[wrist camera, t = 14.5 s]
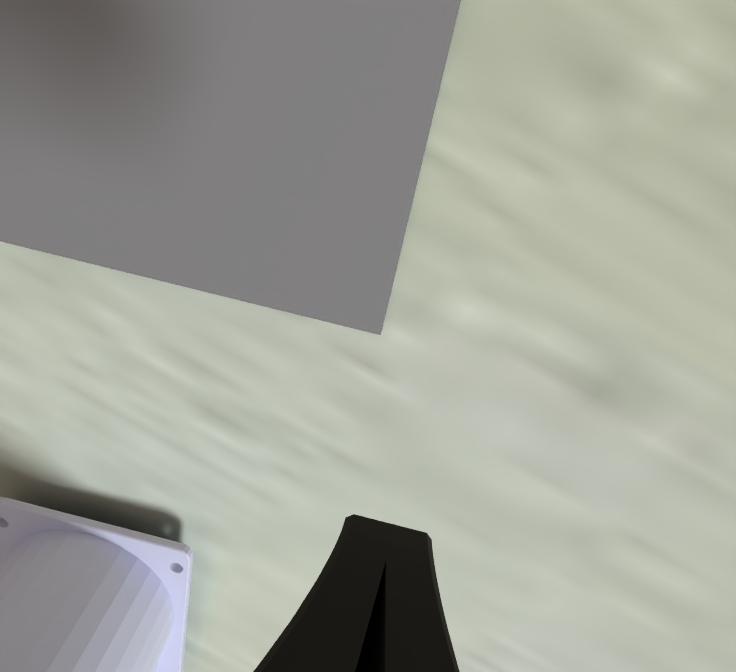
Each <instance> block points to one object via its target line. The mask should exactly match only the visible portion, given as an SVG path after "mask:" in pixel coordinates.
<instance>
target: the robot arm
mask: <svg viewBox="0 0 736 672" xmlns="http://www.w3.org/2000/svg"><path fill="white" fill-rule="evenodd" d="M192 564H193V551H192V550H191V549H190V547H188V546H187V545H186V544H183V543H180V542H176V541H172V540H168V539H165V538H161V537H157V536H153V535H149V534H145V533H141V532H138V531H134V530H130V529H126V528H122V527H118V526H114V525H111V524H107V523H103V522H99V521H95V520H91V519H87V518H83V517H80V516H76V515H72V514H68V513H64V512H60V511H56V510H53V509H49V508H45V507H41V506H37V505H33V504H29V503H26V502H22V501H18V500H14V499H10V498H6V497H0V672H182V671H183V660H184V649H185V639H186V628H187V617H188V607H189V596H190V585H191V575H192ZM254 672H459V669H458V665H457V661H456V658H455V654H454V650H453V647H452V643H451V639H450V636H449V632H448V628H447V624H446V620H445V616H444V612H443V607H442V602H441V598H440V593H439V588H438V583H437V578H436V572H435V566H434V559H433V551H432V540H431V538H430V537H429V535H428V534H427V533H425V532H421V531H417V530H413V529H409V528H405V527H401V526H398V525H394V524H390V523H386V522H382V521H378V520H374V519H370V518H366V517H362V516H358V515H354V514H353V515H351V516H349V517H346V519H345V522H344V525H343V528H342V531H341V533H340V536H339V538H338V541H337V543H336V545H335V547H334V549H333V551H332V553H331V555H330V557H329V559H328V561H327V563H326V565H325V566H324V568H323V570H322V572H321V574H320V575H319V577H318V579H317V581H316V582H315V584H314V585H313V587H312V588H311V590H310V592H309V593H308V595H307V596H306V598H305V600H304V601H303V603H302V604H301V606H300V607H299V609H298V611H297V612H296V614H295V615H294V617H293V618H292V620H291V621H290V623H289V624H288V625H287V627H286V628H285V630H284V631H283V632H282V634H281V635H280V636H279V638H278V639H277V641H276V642H275V643H274V645H273V646H272V647H271V649H270V650H269V652H268V653H267V654H266V656H265V657H264V658H263V660H262V661H261V663H260V664H259V665H258V666H257V668H256V669H255V670H254Z"/></svg>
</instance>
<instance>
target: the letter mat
mask: <svg viewBox="0 0 736 672" xmlns="http://www.w3.org/2000/svg"><path fill="white" fill-rule="evenodd" d="M460 1H461V0H0V241H2V242H6V243H10V244H14V245H18V246H22V247H26V248H30V249H34V250H38V251H42V252H46V253H50V254H54V255H58V256H63V257H67V258H71V259H75V260H79V261H83V262H87V263H91V264H95V265H99V266H103V267H107V268H111V269H115V270H119V271H123V272H127V273H131V274H135V275H139V276H144V277H148V278H152V279H156V280H160V281H164V282H168V283H172V284H176V285H180V286H184V287H188V288H192V289H196V290H200V291H204V292H208V293H212V294H216V295H220V296H225V297H229V298H233V299H237V300H241V301H245V302H249V303H253V304H257V305H261V306H265V307H269V308H273V309H277V310H281V311H285V312H289V313H293V314H297V315H301V316H306V317H310V318H314V319H318V320H322V321H326V322H330V323H334V324H338V325H342V326H346V327H350V328H354V329H358V330H362V331H366V332H370V333H374V334H378V335H381V331H382V327H383V323H384V318H385V314H386V310H387V306H388V302H389V297H390V293H391V289H392V285H393V281H394V277H395V272H396V268H397V264H398V260H399V256H400V251H401V247H402V243H403V239H404V235H405V231H406V226H407V222H408V218H409V214H410V210H411V206H412V201H413V197H414V193H415V189H416V185H417V180H418V176H419V172H420V168H421V164H422V160H423V155H424V151H425V147H426V143H427V139H428V134H429V130H430V126H431V122H432V118H433V114H434V109H435V105H436V101H437V97H438V93H439V88H440V84H441V80H442V76H443V72H444V68H445V63H446V59H447V55H448V51H449V47H450V42H451V38H452V34H453V30H454V26H455V22H456V17H457V13H458V9H459V5H460Z"/></svg>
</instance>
